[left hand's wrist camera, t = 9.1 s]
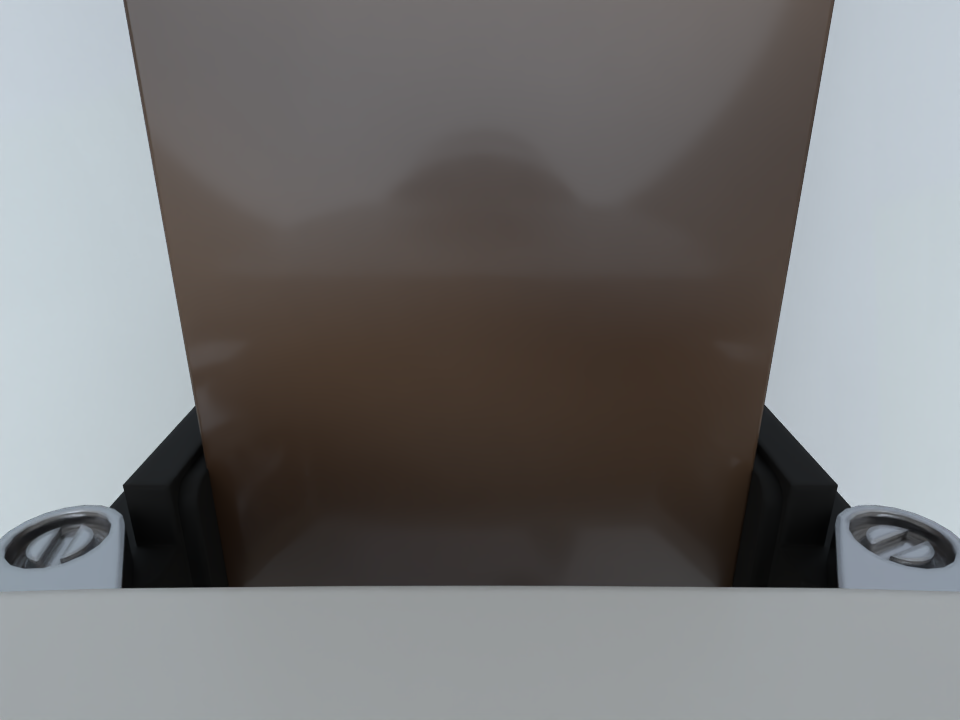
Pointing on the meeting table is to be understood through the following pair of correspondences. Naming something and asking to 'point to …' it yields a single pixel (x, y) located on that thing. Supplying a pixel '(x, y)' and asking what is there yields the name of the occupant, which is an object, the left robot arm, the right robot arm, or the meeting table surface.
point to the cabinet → (479, 276)
